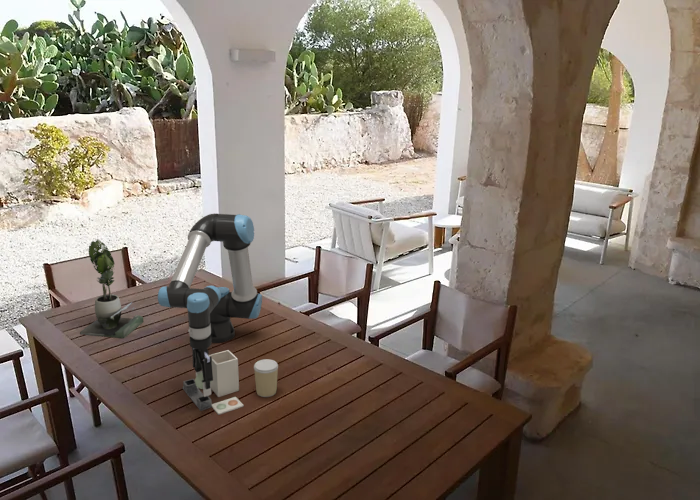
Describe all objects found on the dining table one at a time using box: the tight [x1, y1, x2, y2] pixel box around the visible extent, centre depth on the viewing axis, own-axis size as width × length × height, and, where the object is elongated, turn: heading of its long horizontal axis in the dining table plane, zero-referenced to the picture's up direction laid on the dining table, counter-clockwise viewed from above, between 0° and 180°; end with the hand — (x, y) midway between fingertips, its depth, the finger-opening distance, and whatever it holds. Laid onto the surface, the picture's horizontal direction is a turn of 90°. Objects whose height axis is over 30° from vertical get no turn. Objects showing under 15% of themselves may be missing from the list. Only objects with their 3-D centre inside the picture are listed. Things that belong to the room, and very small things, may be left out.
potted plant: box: [79, 238, 144, 339], centre depth 269 cm, size 22×19×45 cm
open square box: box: [208, 349, 240, 398], centre depth 224 cm, size 9×9×14 cm
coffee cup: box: [253, 358, 279, 398], centre depth 223 cm, size 9×9×12 cm
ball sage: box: [194, 373, 212, 390], centre depth 212 cm, size 6×6×6 cm
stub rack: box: [182, 378, 213, 412], centre depth 220 cm, size 5×19×3 cm, turn 36°
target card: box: [211, 396, 245, 415], centre depth 215 cm, size 10×7×1 cm
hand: (204, 390), depth 214 cm, fingers closed on ball sage, 6 cm apart
